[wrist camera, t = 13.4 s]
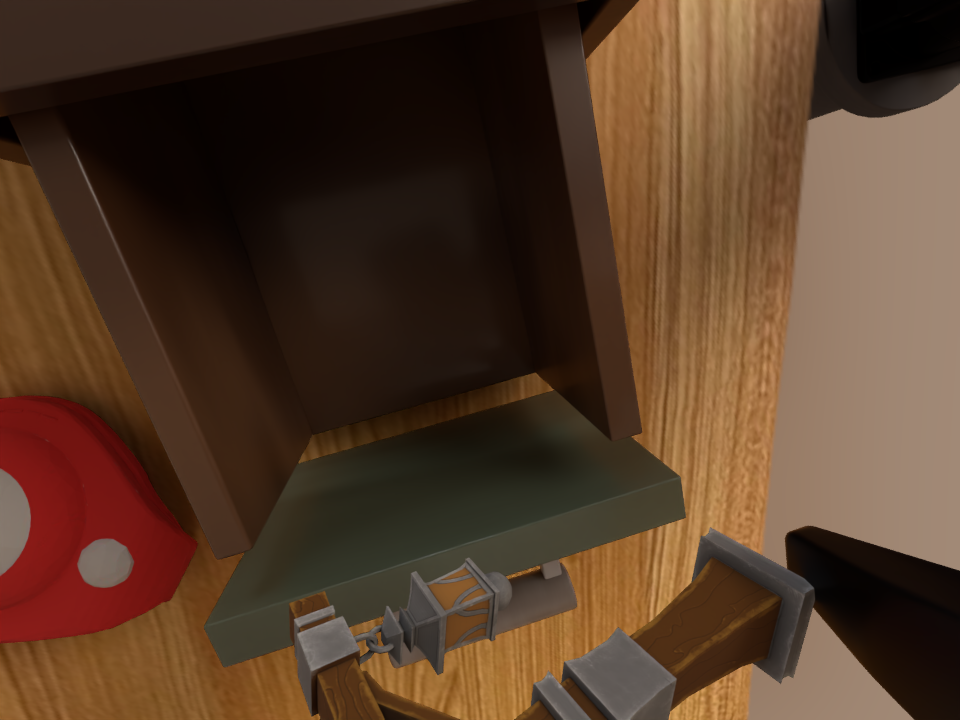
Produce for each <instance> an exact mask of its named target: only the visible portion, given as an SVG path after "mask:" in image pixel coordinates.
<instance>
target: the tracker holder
mask: <svg viewBox="0 0 960 720" xmlns="http://www.w3.org/2000/svg"><path fill="white" fill-rule="evenodd" d="M197 545H198V543H197V541H196V540H195V539H193V538H192V537H191V536H189V535H188V534H186V533H185V532H184V531H183V530H182V528H181V526H180V525H179V523H178V522H177V520H176V519H175V517H174V516H173V514H172V513H171V512H170V511H169V510H168V508H167V507H166V506H165V505H164V503H163V502H162V501H161V499H160V498H159V496H158V495H157V493H156V492H155V490H154V488H153V486H152V485H151V483H150V481H149V478H148V476H147V473H146V472H145V470H144V469H143V467H142V466H141V464H140V463H139V461H138V460H137V458H136V457H135V456H134V454H133V453H132V452H131V451H130V450H129V448H128V447H127V446H126V445H125V444H124V442H123V441H122V440H121V439H120V437H119V436H118V435H117V434H116V433H115V432H114V431H113V430H112V429H111V428H110V427H109V426H108V425H107V424H106V423H105V422H104V421H103V420H102V419H101V418H100V417H98V416H97V415H96V414H95V413H93V412H92V411H91V410H89V409H87V408H85V407H84V406H82V405H80V404H78V403H75V402H72V401H69V400H65V399H61V398H56V397H50V396H18V397H9V398H0V644H1V643H14V642H26V641H38V640H46V639H54V638H62V637H71V636H78V635H85V634H90V633H95V632H99V631H103V630H106V629H110V628H113V627H116V626H118V625H120V624H122V623H124V622H126V621H129V620H131V619H133V618H135V617H137V616H139V615H142V614H144V613H146V612H147V611H149V610H151V609H152V608H154V607H156V606H157V605H159V604H161V603H162V602H167V601H170V600H171V598H172V597H173V595H174V593H175V591H176V589H177V587H178V585H179V583H180V581H181V579H182V577H183V575H184V573H185V571H186V568H187V566H188V564H189V562H190V560H191V558H192V556H193V554H194V552H195V550H196V548H197Z"/></svg>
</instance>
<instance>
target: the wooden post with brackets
mask: <svg viewBox="0 0 960 720" xmlns="http://www.w3.org/2000/svg"><path fill="white" fill-rule="evenodd" d="M511 597H512V587H511V584H510V582H509V580H508V579H507V578H506V576H504V575H503V574H501V573H499V572H490V573H487V574H484V573H483V572H482V571H481V570H480V569H479V568H478V567H477V566H476V565H475V563H474V562H473V561H472V560H471V559H470V558H467V559H465V563H464V564H463V565H462V566H461V567H460V568H458V569H456V570H454V571H452V572H450V573H448V574H446V575H444V576H442V577H439V578H437V579H435V580H433V581H431V582H428V583H424V582H423V580H422V579H421V577H420V576H419V574H418V573H417V572H416V571H415V572H413V573H411V586H410V596H409V602H408V606H407V609H406V611H405V610H404V609H402V608H401V607H400V610H399V621H397V619H396V618H395V616H394V614H393V613H392V611H391V609H390V608H389V606H386V610H385V615H384V620H383V624H382V625H378V626H376V627H375V628H373V629H372V630H370V632H367V633H362V634H359V635H357V636H354V637H353V635H352V633H351V631H350V629H349V627H348V625H347V623H346V621H345V619H344V617H343V616H341V617H339V618H336V617H335V610H334V606H333V605H332V606H330V604H329V602H328V599H327V596H326V593H325V591H323V592H320V593H317V594H314V595H312V596H309V597H306V598H303V599H300V600H297V601H294V602H291V603H289V623H290V639H291V641H292V643H293V645H294V647H295V657H296V659H297V660H298V678H299V681H300V684H301V687H302V690H303V693H304V696H305V698H306V701H307V704H308V707H309V710H310V713H311V716H314V715H316V714H318V713H319V716H320V718H321V720H460V719H458V718H455V717H452V716H450V715H447V714H445V713H442V712H439V711H437V710H434V709H432V708H429V707H426V706H424V705H421V704H419V703H416V702H413V701H411V700H408V699H406V698H403V697H400V696H398V695H395V694H393V693H390V692H387V691H385V690H383V689H382V688H381V687H380V686H379V685H378V683H377V682H376V681H375V680H374V679H373V678H372V677H371V676H370V675H369V674H368V673H367V671H361V669H360V664H362V663H364V662H365V661H367V660H368V659H370V658H371V656H372V655H373V654H374V653H379V654H381V653H385V652H389V653H390V655H391V656H392V657H393V658H394V659H395V660H396V661H397V663H398V664H399V665H401V664H402V652H403V643H405V645H406V646H407V648H408V650H409V651H410V653H412V650H413V648H414V645H415V646H416V647H417V648H418V649H420V650H421V652H422V653H423V654H424V655H425V657H426V658H427V659H428V660H429V662H430V663H431V665H432V667H433V668H434V670H435V672H436V673H437V675H439V674H441V673H443V665H444V654H445V653H446V652H448V651H449V650H452V649H455V648H457V647H460V646H462V645H465V644H468V643H470V642H473V641H476V640H478V639H490V640H491V641H493V640H495V636H496V625H497V615H498V611H502V610H504V609H505V608H506V607H507V606H508V605H509V603H510V600H511ZM814 602H815V592H814V588H813V587H812V586H811V585H810V584H809V583H808V582H807V581H806V580H805V579H804V578H803V577H801V576H799V575H797V574H795V573H793V572H792V571H790V570H788V569H786V568H784V567H782V566H780V565H779V564H777V563H775V562H773V561H771V560H769V559H768V558H766V557H764V556H762V555H760V554H758V553H757V552H755V551H753V550H751V549H749V548H747V547H746V546H744V545H742V544H740V543H738V542H736V541H734V540H733V539H731V538H729V537H727V536H725V535H723V534H722V533H720V532H718V531H716V530H714V529H712V528H711V527H710V529H709V533H708V534H707V535H706V536H701V538H700V543H699V548H698V553H697V558H696V563H695V568H694V573H693V577H692V582H691V584H690V585H689V586H688V587H686V588H685V589H684V590H683V591H682V592H681V593H680V594H679V595H678V596H677V597H676V598H675V599H674V600H673V601H672V602H671V603H670V604H669V605H668V606H667V607H666V608H665V609H664V610H663V611H662V612H661V613H660V614H659V615H658V616H657V617H656V618H655V619H654V620H652V621H651V622H649V623H648V624H647V625H645V626H644V627H642V628H641V629H639V630H638V631H637V632H635V633H634V634H632V635H631V636H628V635H627V634H625V633H624V632H623V631H622V630H621V629H620V628H619V627H618V628H617V629H616V630H615V632H614V633H613V634H612V635H611V637H610V638H609V639H608V640H607V641H605V642H604V643H602V644H601V645H599V646H598V647H596V648H595V649H593V650H592V651H590V652H589V653H587V654H586V655H584V656H582V657H581V658H577V659H573V660H569V661H565V662H564V667H563V674H562V681H561V684H560V683H559V682H558V681H557V680H556V679H555V678H554V677H553V675H552V674H551V673H550V672H549V671H548V673H547V675H546V676H545V678H544V679H543V680H542V681H539V682H536V683H534V685H533V693H532V701H531V707H530V708H528V709H527V710H526V711H525V712H523V713H522V714H521V715H519V716H518V717H517V718H516V719H514V720H668V719H669V714H670V711H671V710H673V709H674V708H675V707H676V706H677V705H679V704H680V703H681V702H682V701H684V700H685V699H686V698H687V697H689V696H690V695H692V694H694V693H696V692H697V691H699V690H701V689H703V688H705V687H706V686H708V685H710V684H712V683H713V682H715V681H717V680H719V679H721V678H722V677H724V676H726V675H728V674H729V673H731V672H733V671H735V670H737V669H738V668H740V667H742V666H745V665H748V664H751V663H753V664H755V665H757V666H758V667H759V668H760V669H762V670H763V671H764V672H766V673H767V674H768V675H770V676H771V677H772V678H774V679H775V680H776V681H778V682H779V683H781V682H782V679H783V678H784V677H786V676H790V677H792V678H793V677H794V674H795V670H796V666H797V663H798V659H799V656H800V652H801V648H802V644H803V641H804V638H805V634H806V630H807V627H808V623H809V619H810V616H811V612H812V608H813V605H814ZM377 632H381V641H382V643H383V644H384V646H381V647H380V646H377V645H378V639H377V636H376V635H374V634H376V633H377ZM362 640H366V645H367V646H368V648H369V651H368V652H367V653H366V654H364V655H363V656H361V657H360V649H359V647H358V645H357V642H360V641H362Z"/></svg>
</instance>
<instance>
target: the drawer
mask: <svg viewBox="0 0 960 720" xmlns="http://www.w3.org/2000/svg"><path fill="white" fill-rule="evenodd" d="M8 117H9V119H10V121H11V124H12V126H13V128H14V130H15V132H16V134H17V136H18V138H19V141H20V143H21V145H22V147H23V149H24V151H25V153H26V155H27V158H28V160H29V162H30V164H31V166H32V168H33V170H34V172H35V175H36V177H37V179H38V181H39V183H40V185H41V187H42V189H43V192H44V194H45V196H46V198H47V200H48V202H49V204H50V206H51V209H52V211H53V213H54V215H55V217H56V219H57V221H58V223H59V226H60V228H61V230H62V232H63V234H64V236H65V238H66V241H67V243H68V245H69V247H70V249H71V251H72V253H73V255H74V258H75V260H76V262H77V264H78V266H79V268H80V270H81V272H82V275H83V277H84V279H85V281H86V283H87V285H88V287H89V289H90V292H91V294H92V296H93V298H94V300H95V302H96V304H97V306H98V309H99V311H100V313H101V315H102V317H103V319H104V321H105V323H106V326H107V328H108V330H109V332H110V334H111V336H112V338H113V340H114V343H115V345H116V347H117V349H118V351H119V353H120V355H121V357H122V360H123V362H124V364H125V366H126V368H127V370H128V372H129V374H130V377H131V379H132V381H133V383H134V385H135V387H136V389H137V391H138V394H139V396H140V398H141V400H142V402H143V404H144V406H145V408H146V411H147V413H148V415H149V417H150V419H151V421H152V423H153V425H154V428H155V430H156V432H157V434H158V436H159V438H160V440H161V442H162V445H163V447H164V449H165V451H166V453H167V455H168V457H169V459H170V462H171V464H172V466H173V468H174V470H175V472H176V474H177V477H178V479H179V481H180V483H181V485H182V487H183V489H184V491H185V494H186V496H187V498H188V500H189V502H190V504H191V506H192V508H193V511H194V513H195V515H196V517H197V519H198V521H199V523H200V525H201V528H202V530H203V532H204V534H205V536H206V538H207V540H208V542H209V545H210V547H211V549H212V551H213V553H214V555H215V557H216V558H217V559H223V558H226V557H230V556H233V555H236V554H240V553H243V552H245V553H244V555H243V556H242V558H241V560H240V562H239V564H238V565H237V567H236V569H235V571H234V573H233V574H232V576H231V578H230V580H229V582H228V584H227V585H226V587H225V589H224V591H223V593H222V594H221V596H220V598H219V600H218V602H217V603H216V605H215V607H214V609H213V611H212V613H211V614H210V616H209V618H208V620H207V622H206V623H205V625H204V629H205V631H206V633H207V635H208V637H209V639H210V641H211V643H212V645H213V647H214V649H215V651H216V653H217V655H218V657H219V659H220V661H221V663H222V665H223V667H228V666H231V665H234V664H237V663H240V662H243V661H246V660H250V659H253V658H256V657H259V656H262V655H265V654H268V653H271V652H274V651H277V650H280V649H283V648H286V647H290V646H293V643H292V641H291V639H290V623H289V603H291V602H294V601H297V600H300V599H303V598H306V597H309V596H312V595H314V594H317V593H320V592H323V591H325V593H326V596H327V599H328V602H329V604H330V606H332V605H333V606H334V610H335V617H336V618H339V617H341V616H343V617H344V619H345V621H346V623H347V625H348V627H351V626H354V625H357V624H360V623H363V622H366V621H370V620H373V619H376V618H379V617H382V616H384V615H385V610H386V606H389V608H390V609H391V611H392V613H393V614H394V616H395V618H396V619H397V621H399V610H400V607H401V608H402V609H404V610H405V611H406V609H407V606H408V602H409V596H410V586H411V573H413V572H415V571H416V572H417V573H418V574H419V576H420V577H421V579H422V580H423V582H424V583H428V582H431V581H433V580H435V579H437V578H439V577H442V576H444V575H446V574H448V573H450V572H452V571H454V570H456V569H458V568H460V567H461V566H462V565H463V564H464V563H465V559H467V558H470V559H471V560H472V561H473V562H474V563H475V565H476V566H477V567H478V568H479V569H480V570H481V571H482V572H483V573H484V574H487V573H490V572H499V573H501V574H503V575H504V576H508V575H511V574H514V573H517V572H520V571H523V570H527V569H530V568H533V567H536V566H540V569H538V570H535V571H532V572H529V573H526V574H523V575H520V576H517V577H514V578H511V579H508V580H509V582H510V584H511V587H512V597H511V600H510V603H509V605H508V606H507V607H506V608H505V609H504V610H502V611H498V615H497V625H496V635H498V634H501V633H504V632H507V631H510V630H513V629H516V628H519V627H522V626H525V625H528V624H531V623H534V622H537V621H540V620H543V619H546V618H549V617H552V616H555V615H558V614H560V613H563V612H566V611H569V610H572V609H575V608H576V607H577V599H576V595H575V591H574V588H573V585H572V582H571V579H570V577H569V574H568V572H567V570H566V568H565V566H564V565H563V564H562V563H560V562H559V559H560V558H563V557H567V556H570V555H573V554H576V553H579V552H582V551H585V550H588V549H591V548H594V547H597V546H600V545H604V544H607V543H610V542H613V541H616V540H619V539H622V538H625V537H628V536H631V535H634V534H637V533H640V532H644V531H647V530H650V529H653V528H656V527H659V526H662V525H665V524H668V523H671V522H674V521H677V520H680V519H684V518H685V517H686V514H685V507H684V499H683V492H682V484H681V478H680V476H679V475H677V474H676V473H675V472H674V471H673V470H671V469H670V468H669V467H668V466H666V465H665V464H664V463H663V462H661V461H660V460H659V459H658V458H656V457H655V456H654V455H653V454H652V453H650V452H649V451H648V450H647V449H645V448H644V447H643V446H642V445H640V444H639V443H638V442H637V441H635V440H634V439H633V438H632V437H631V436H634V435H637V434H640V433H642V428H641V421H640V415H639V408H638V402H637V395H636V389H635V382H634V376H633V369H632V363H631V356H630V349H629V343H628V336H627V330H626V323H625V317H624V310H623V304H622V297H621V290H620V284H619V277H618V271H617V264H616V258H615V251H614V245H613V238H612V231H611V225H610V218H609V212H608V205H607V199H606V192H605V186H604V179H603V173H602V166H601V159H600V153H599V146H598V140H597V133H596V127H595V120H594V114H593V107H592V100H591V94H590V87H589V81H588V74H587V68H586V61H585V55H584V48H583V41H582V35H581V28H580V22H579V15H578V9H577V3H572V4H567V5H562V6H557V7H552V8H547V9H542V10H537V11H532V12H527V13H522V14H517V15H511V16H506V17H501V18H496V19H491V20H486V21H481V22H476V23H471V24H466V25H461V26H456V27H451V28H446V29H441V30H436V31H431V32H426V33H421V34H416V35H411V36H406V37H401V38H396V39H390V40H385V41H380V42H375V43H370V44H365V45H360V46H355V47H350V48H345V49H340V50H335V51H330V52H325V53H320V54H315V55H310V56H305V57H300V58H295V59H290V60H285V61H280V62H274V63H269V64H264V65H259V66H254V67H249V68H244V69H239V70H234V71H229V72H224V73H219V74H214V75H209V76H204V77H199V78H194V79H189V80H184V81H179V82H174V83H169V84H164V85H159V86H153V87H148V88H143V89H138V90H133V91H128V92H123V93H118V94H113V95H108V96H103V97H98V98H93V99H88V100H83V101H78V102H73V103H68V104H63V105H58V106H53V107H48V108H43V109H37V110H32V111H27V112H22V113H17V114H12V115H8ZM535 372H536V373H537V374H538V375H539V376H540V377H541V378H542V379H543V380H545V381H546V382H547V383H548V384H549V385H550V386H551V387H552V388H553V389H554V391H551V392H547V393H544V394H540V395H537V396H533V397H530V398H526V399H523V400H519V401H516V402H512V403H509V404H505V405H502V406H498V407H495V408H491V409H488V410H484V411H481V412H477V413H474V414H470V415H467V416H463V417H460V418H456V419H453V420H449V421H446V422H442V423H439V424H435V425H432V426H428V427H425V428H421V429H418V430H414V431H411V432H407V433H404V434H400V435H397V436H393V437H390V438H386V439H383V440H379V441H376V442H372V443H369V444H365V445H362V446H358V447H355V448H351V449H348V450H344V451H341V452H337V453H334V454H330V455H327V456H323V457H320V458H316V459H313V460H309V461H306V462H302V463H299V464H298V462H299V460H300V458H301V456H302V454H303V452H304V450H305V449H306V447H307V445H308V443H309V441H310V439H311V437H312V435H314V434H318V433H321V432H325V431H328V430H332V429H335V428H339V427H343V426H346V425H350V424H353V423H357V422H360V421H364V420H367V419H371V418H375V417H378V416H382V415H385V414H389V413H392V412H396V411H400V410H403V409H407V408H410V407H414V406H417V405H421V404H425V403H428V402H432V401H435V400H439V399H442V398H446V397H449V396H453V395H457V394H460V393H464V392H467V391H471V390H474V389H478V388H482V387H485V386H489V385H492V384H496V383H499V382H503V381H506V380H510V379H514V378H517V377H521V376H524V375H528V374H531V373H535ZM480 640H483V639H478V640H476V641H473V642H470V643H468V644H465V645H462V646H460V647H463V646H466V645H469V644H472V643H475V642H478V641H480ZM460 647H457V648H460ZM457 648H455V649H457ZM452 650H454V649H452ZM449 651H451V650H449ZM388 655H389V658H390V661H391V663H392V665H393V667H394V668H400V667H403V666H406V665H409V664H412V663H415V662H418V661H421V660H424V659H427V658H426V657H425V655H424V654H423V653H422V652H421V650H420V649H418V648H417V647H416V646H415V645H414V648H413V650H412V653H410V651H409V650H408V648H407V646H406V645H405V643H403V652H402V664H401V665H399V664H398V663H397V661H396V660H395V659H394V658H393V657H392V656H391V655H390V653H389V652H388Z"/></svg>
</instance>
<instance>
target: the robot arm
mask: <svg viewBox="0 0 960 720" xmlns="http://www.w3.org/2000/svg"><path fill="white" fill-rule="evenodd" d="M856 14H857V76H858V79H859V81H860V82H862V83H870V82H875V81H879V80H883V79H888V78H892V77H896V76H901V75H905V74H909V73H913V72H918V71H922V70H926V69H931V68H935V67H939V66H944V65H948V64H952V63H957V62H960V0H856ZM871 70H872V71H871ZM785 546H786V557H787V558H786V559H787V569H788V570H790V571H792V572H793V573H795V574H797V575H799V576H801V577H803V578H804V579H805V580H806V581H807V582H808V583H809V584H810V585H811V586H812V587H813V588H814V592H815V602H814V605H813V608H814V609H815V610H816V612H817V613H818V614H819V615H820V616H821V617H822V619H823V620H824V621H825V622H826V623H827V624H828V626H829V627H830V628H831V629H832V630H833V631H834V633H835V634H836V635H837V636H838V637H839V638H840V640H841V641H842V642H843V643H844V644H845V645H846V647H847V648H848V649H849V650H850V651H851V653H852V654H853V655H854V656H855V657H856V659H857V660H858V661H859V662H860V663H861V664H862V665H863V667H865V669H866V670H867V671H868V672H869V673H870V674H871V676H872V677H873V678H874V679H875V680H876V681H877V682H878V683H879V684H880V685H881V686H882V687H883V688H884V689H885V690H886V691H887V692H888V693H889V694H890V695H891V696H892V697H893V698H894V699H895V700H896V701H897V703H898V704H899V705H900V706H901V707H902V708H903V709H904V710H905V711H906V712H908V714H909V715H910V716H911V717H912V718H913V719H914V720H960V571H959V570H956V569H952V568H949V567H946V566H942V565H939V564H936V563H933V562H929V561H926V560H923V559H919V558H916V557H913V556H910V555H906V554H903V553H900V552H896V551H893V550H890V549H887V548H883V547H880V546H877V545H874V544H870V543H867V542H864V541H861V540H857V539H854V538H851V537H847V536H844V535H841V534H838V533H834V532H831V531H828V530H824V529H821V528H818V527H814V526H805V527H802V528H799V529H796V530H793V531H790V532H788V533H787V535H786V537H785ZM320 720H321V718H320Z"/></svg>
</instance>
